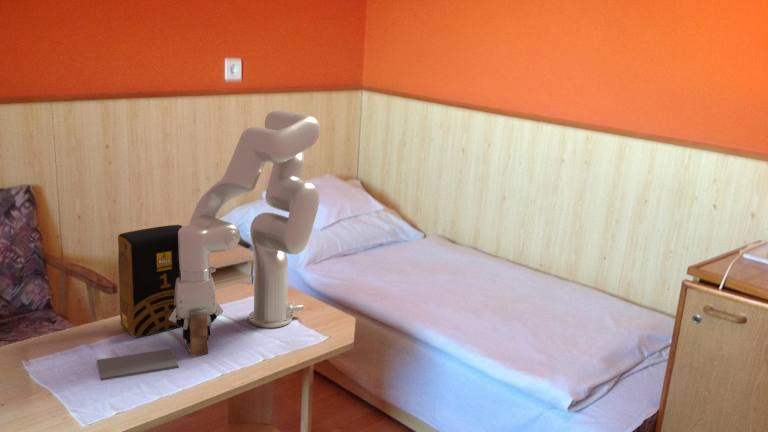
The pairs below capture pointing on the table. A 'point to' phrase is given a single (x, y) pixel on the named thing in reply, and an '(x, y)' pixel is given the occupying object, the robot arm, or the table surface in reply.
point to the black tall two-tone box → (148, 278)
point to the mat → (136, 364)
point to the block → (198, 332)
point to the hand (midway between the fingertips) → (196, 339)
